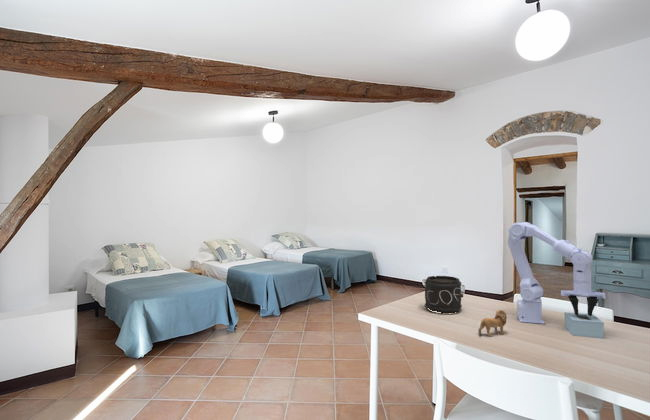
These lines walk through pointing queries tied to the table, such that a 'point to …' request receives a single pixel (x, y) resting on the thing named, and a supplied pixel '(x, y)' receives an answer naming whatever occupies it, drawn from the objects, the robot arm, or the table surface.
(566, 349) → the table surface
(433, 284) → the black lettered canister
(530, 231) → the robot arm
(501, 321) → the lion figurine
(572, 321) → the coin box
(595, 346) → the table surface
